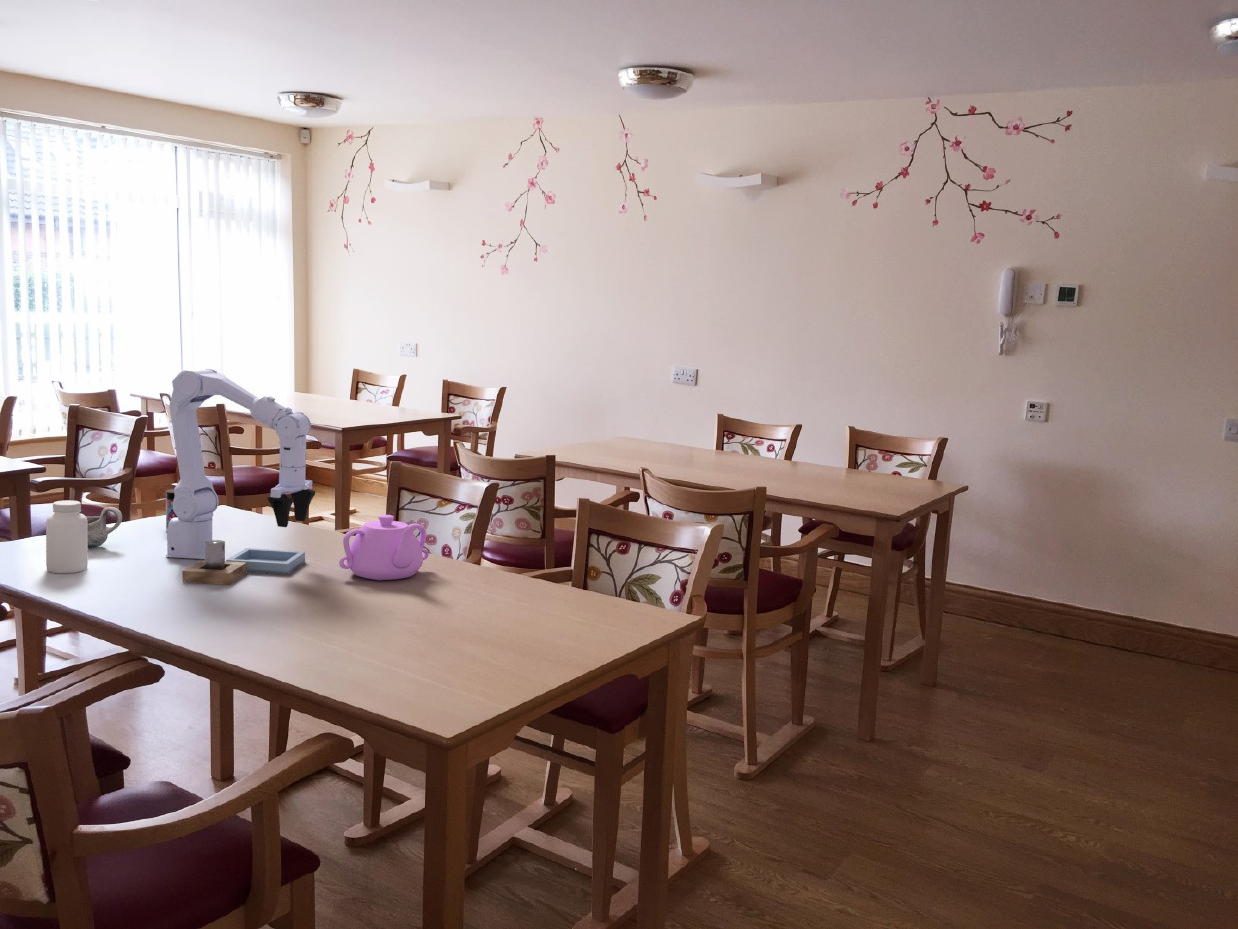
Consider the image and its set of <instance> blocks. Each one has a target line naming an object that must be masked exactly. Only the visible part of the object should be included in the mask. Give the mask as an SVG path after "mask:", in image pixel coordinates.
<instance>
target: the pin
mask: <svg viewBox="0 0 1238 929" xmlns="http://www.w3.org/2000/svg"><path fill="white" fill-rule="evenodd" d="M204 560H205V569H212V570H223V569H225V561H226V542H225V540H221V539H220V540H219V539H212V540H210V541H206V542H205V559H204Z"/></svg>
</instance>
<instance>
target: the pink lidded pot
mask: <svg viewBox="0 0 1238 929" xmlns="http://www.w3.org/2000/svg"><path fill="white" fill-rule="evenodd" d="M394 519H395V516H394V515H392V514H381V515H378V520H373V521H368V522H365V523H364V524H363V525H362V526H361V527H360V528H353V529H350V530H349V531H347V532H346V533H345V534H344V536H343V538H342V539H343V540H342V542H343V543H342V544H343V548H344V553H345V555H346V556H341V557H340V559H339V562H338V564H339V567H340V568H341V569H344V570H349V569H350V571H351V572H353V574H354V575H355V576H358V577H361V578H364V579H369V580H373V581H385V580H389V581H390V580H398V579H399V580H401V579H406V578H409V577H412V576H414V575H415V574H416V573H417V572H419V570H420V569H421V568H422V566H423V564H424V561H425V560H427V559H428V558H429V556H430V555H429V553H430V552H429V551H428V549H427V548H425V547H424V546H425V543H426V538H427V530H426V529H425V527H424V526H423V525H421V524H419V523H409V524H407V523H405V522H403V521H396V520H394ZM415 529H418V530H419V532H420V535H419V540H418V538H417V536H416V535H415V534H416V533H414V530H415ZM353 535H355V536H354V537H353V539H352V541H351V543H350V538H351V537H352V536H353ZM345 561H346V563H345Z"/></svg>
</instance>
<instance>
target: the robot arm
mask: <svg viewBox="0 0 1238 929" xmlns="http://www.w3.org/2000/svg"><path fill="white" fill-rule="evenodd" d="M171 382H172V384H171V385H172V392H171V393H172V394H171V398H170V400H169V410H170V411H169V412H170V419H171V424H172V426H171V427H172V431H173V438H174V447H175V452H176V458H177V459H176V460H177V465H178V472H179V478H180V479H179V481H178V483H177V484H176V485H175V487H174V488H173V489H174V494H175V497H174V501H173V510H174V513H175V514H176V515H177V516H178V518H177V517H175V518H172V519H171V520H170V522H169V524H168V529H166V530H167V532H166V534H167V535H166V539H167V543H166V546H167V547H166V548H167V549H166V551H167V552H166V554H165V557H167V558H176V559H177V558H178V559H179V558H180V559H194V560H195V559H197V560H205V542H206V541H210V540H213V517H214V512H215V511H216V510H217V509H218V508H219V503H220V502H219V497H218V494H217V493H216V490H215V489H214V485H213V482H212V480H210V479H209V478H208V477H207V476H206V473H205V466H204V458H203V452H202V451H203V450H202V444H201V437H200V431H199V422H198V417H197V410H198V409H199V408H200V407H201V406H202V405H203V403H204V402H206V401H207V400H208V399H210V398H212V397H214V396H221V397H223V398H225V399H228V400H229V401H231V402H234V403H235V404H237V405H239V406H241V407H243V408H245V409H246V410H249V412H250V415H251V417H252V419H255V421H258V422H260V423H261V424H263V425H265V426H266V427H268V428H270V429H272V430H273V431H275V434H276V435H277V437H278V438H279V440H278V441H279V474H278V475H279V476H278V484H277V485H275V487H272V488H271V489H270V495H267V500H268V502H269V505H271V507H272V508H271V509H272V510H273V514H274V517H275V521H276V523H277V527H279V528H287V527H288V526H289V519H290V512H291V508H292V505H293V510H294V519H295V521H298V522H305V521H306V519H307V514H308V512H309V508H310V504H311V503H312V500H313V499H314V498H315V495H316V491H315V490H313V480H310V479H306V465H307V464H306V461H307V457H306V456H307V436H308V435H309V434H310V432H311V429H312V423H311V421H310V418H309V417H308V416H307V415H306V414H304V412H301V411H298V412H297V411H296V412H294V411H293V408H291V407H285V406H284V405H282V404H280V403H278V402H276V398H275V397H273V396H264V395H263V396H260V397H258V396H256V395H254V394H253V393H251V392H249V391H248V390H246V388H243V387H242V386H240V385H239V384H237V383H235V382H234V381H232V380H231V379H229V377H227V376H226V375H225V374H223V373H220V372H218V371H217V370H215V369H212V368H205V369H196V370H193V369H192V370H190V369H185V370H181V371H180V372H179V373H178V374H177V375H176V377H174V378H173V380H172V381H171ZM287 495H291V496H290V497H288V496H287Z"/></svg>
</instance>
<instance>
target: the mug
mask: <svg viewBox="0 0 1238 929" xmlns="http://www.w3.org/2000/svg"><path fill="white" fill-rule="evenodd" d="M108 512H111V513H113V514H114V515H115V517H116V522H115V524H114V525H113V526H112V527H110V526H109V527H108V526H107V524H106V522H107V516H108ZM86 518H87V520H88V550H92V549H97V548H98V547H101V546H103V545H104V543H105V542H106V541H107V540H108V536H109V534H111V533H113V532H114V531H115V530H116V529H117V528H118V527H119V526H120V525H121V524H122V521H123V514H122V512H121V510H119V508H116V507H113V506H108V507H105V508H103V509H102V511H101V512H100V515H99V516H86Z"/></svg>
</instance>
